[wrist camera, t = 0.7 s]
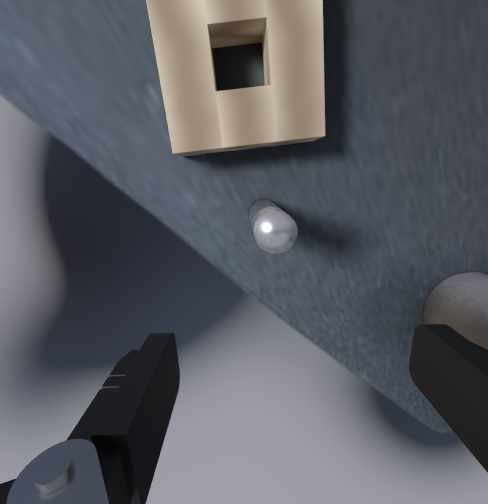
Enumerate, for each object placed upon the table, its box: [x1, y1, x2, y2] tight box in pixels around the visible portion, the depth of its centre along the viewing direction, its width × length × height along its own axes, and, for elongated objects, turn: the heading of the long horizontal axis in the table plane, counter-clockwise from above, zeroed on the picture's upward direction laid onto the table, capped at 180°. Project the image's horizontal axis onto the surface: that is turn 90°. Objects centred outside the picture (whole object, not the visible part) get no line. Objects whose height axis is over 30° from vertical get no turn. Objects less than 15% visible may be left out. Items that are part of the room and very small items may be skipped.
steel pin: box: [249, 199, 298, 254], centre depth 23 cm, size 3×3×10 cm
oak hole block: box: [146, 0, 325, 156], centre depth 22 cm, size 13×13×4 cm
